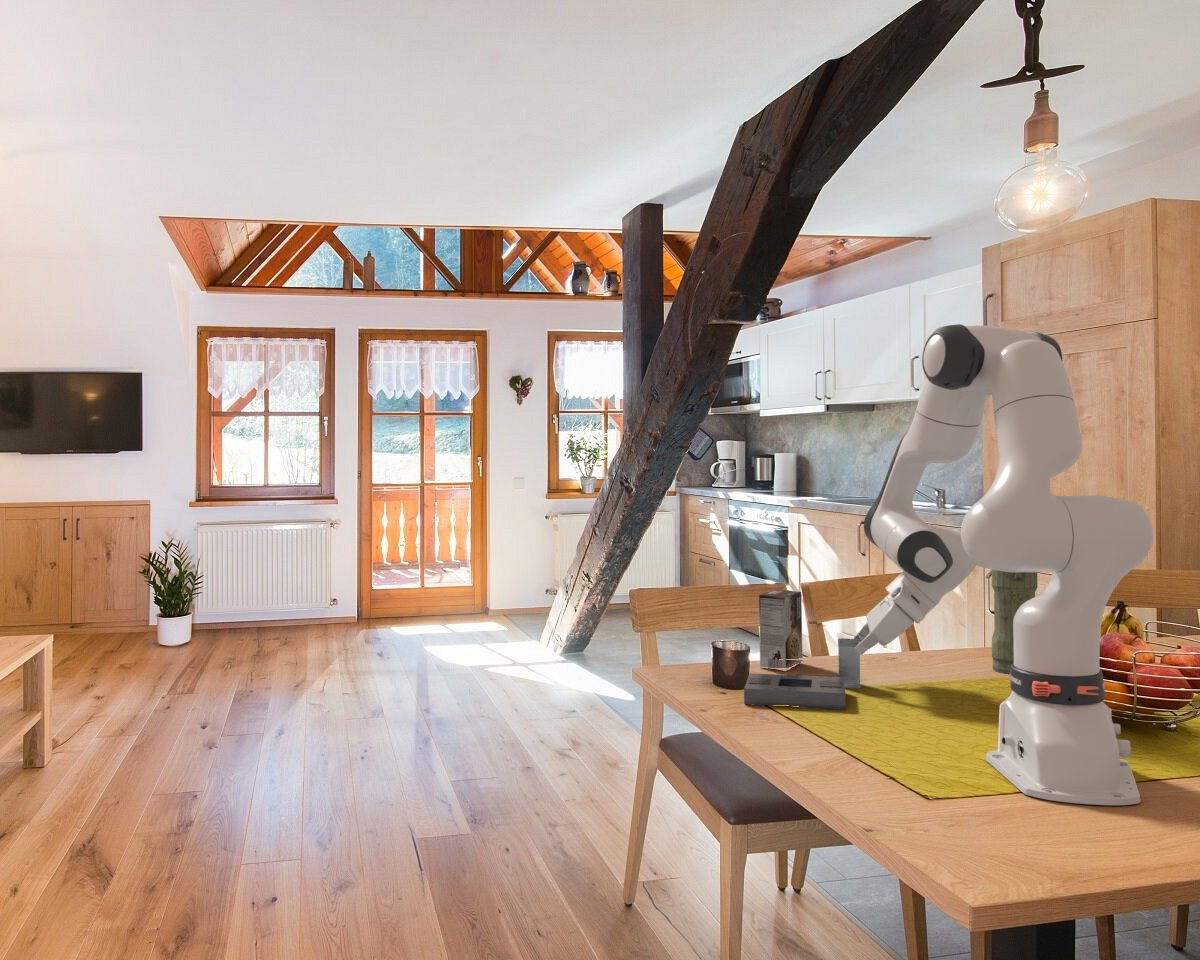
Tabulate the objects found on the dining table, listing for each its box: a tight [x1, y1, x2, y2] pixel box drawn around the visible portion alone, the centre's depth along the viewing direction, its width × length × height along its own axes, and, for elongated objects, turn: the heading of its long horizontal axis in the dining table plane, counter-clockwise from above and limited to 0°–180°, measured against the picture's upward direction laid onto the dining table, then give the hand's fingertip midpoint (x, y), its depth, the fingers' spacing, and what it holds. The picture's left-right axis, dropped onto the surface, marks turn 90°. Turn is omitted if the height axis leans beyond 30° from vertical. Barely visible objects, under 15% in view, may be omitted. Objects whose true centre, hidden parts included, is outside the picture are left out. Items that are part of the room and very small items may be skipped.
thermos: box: [990, 569, 1038, 675], centre depth 187 cm, size 9×12×35 cm
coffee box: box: [758, 589, 804, 668], centre depth 194 cm, size 9×6×16 cm
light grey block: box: [837, 637, 861, 690], centre depth 176 cm, size 4×4×9 cm
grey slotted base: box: [743, 673, 847, 711], centre depth 167 cm, size 12×18×3 cm, turn 76°
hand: (856, 646), depth 176 cm, fingers open, 8 cm apart
